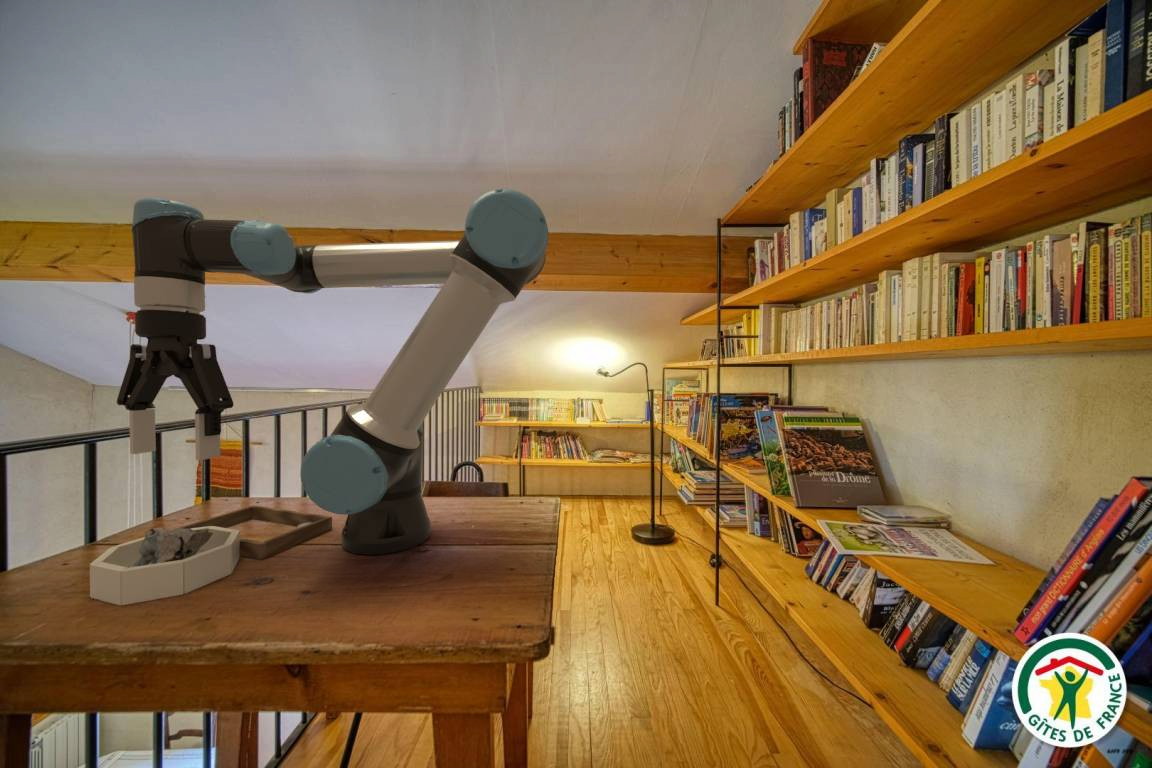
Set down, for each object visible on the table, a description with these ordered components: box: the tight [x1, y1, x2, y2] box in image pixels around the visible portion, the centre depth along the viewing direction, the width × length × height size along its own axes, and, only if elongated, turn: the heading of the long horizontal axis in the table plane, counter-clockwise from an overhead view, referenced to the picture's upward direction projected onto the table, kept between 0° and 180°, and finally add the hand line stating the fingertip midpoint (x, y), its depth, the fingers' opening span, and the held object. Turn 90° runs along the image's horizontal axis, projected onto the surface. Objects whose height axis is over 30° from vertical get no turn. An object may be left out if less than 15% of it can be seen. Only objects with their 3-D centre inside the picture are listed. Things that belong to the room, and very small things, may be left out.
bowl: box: [89, 526, 241, 606], centre depth 63 cm, size 15×15×4 cm
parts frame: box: [173, 504, 333, 560], centre depth 78 cm, size 20×14×2 cm
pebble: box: [296, 522, 313, 529], centre depth 80 cm, size 3×3×2 cm
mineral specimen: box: [128, 526, 213, 568], centre depth 62 cm, size 10×8×10 cm
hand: (174, 455), depth 63 cm, fingers open, 13 cm apart
